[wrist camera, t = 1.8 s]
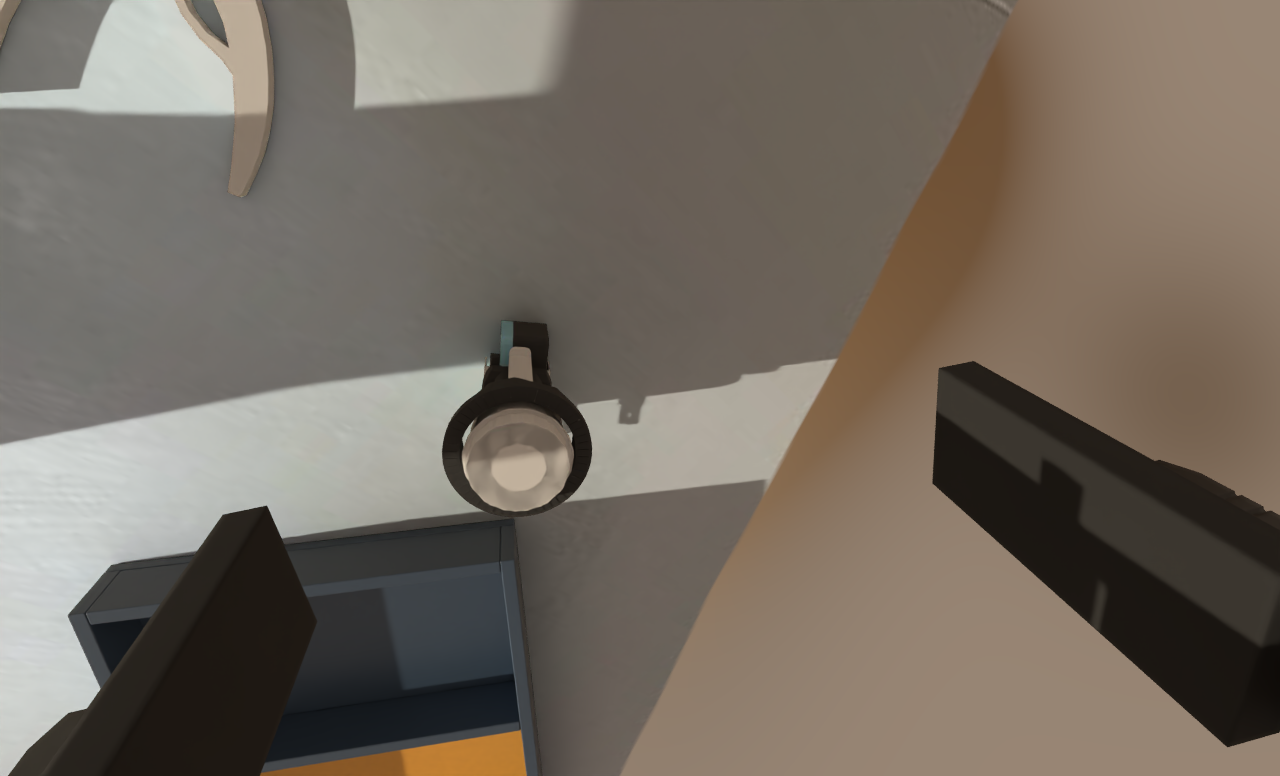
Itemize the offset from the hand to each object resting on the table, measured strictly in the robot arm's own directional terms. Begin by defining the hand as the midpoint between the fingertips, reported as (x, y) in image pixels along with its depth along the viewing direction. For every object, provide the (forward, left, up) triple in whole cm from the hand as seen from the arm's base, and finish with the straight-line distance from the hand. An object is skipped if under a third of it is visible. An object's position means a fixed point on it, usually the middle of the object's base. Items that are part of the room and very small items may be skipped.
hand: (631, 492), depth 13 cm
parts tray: (-13, -24, -20) cm, 34 cm away
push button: (-3, -5, -20) cm, 21 cm away
